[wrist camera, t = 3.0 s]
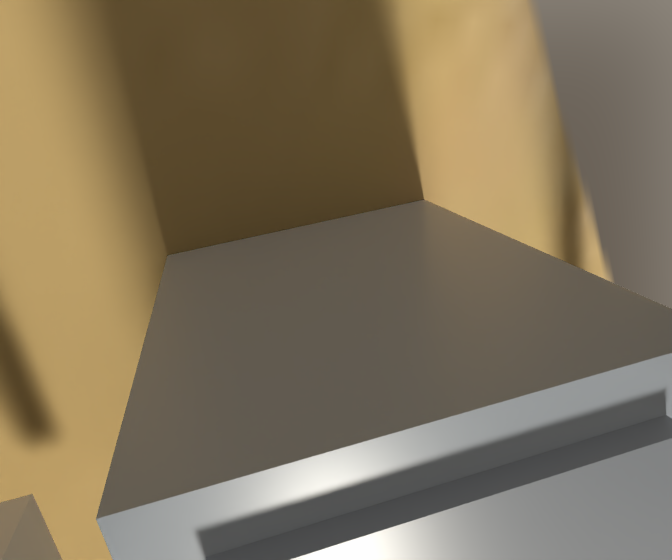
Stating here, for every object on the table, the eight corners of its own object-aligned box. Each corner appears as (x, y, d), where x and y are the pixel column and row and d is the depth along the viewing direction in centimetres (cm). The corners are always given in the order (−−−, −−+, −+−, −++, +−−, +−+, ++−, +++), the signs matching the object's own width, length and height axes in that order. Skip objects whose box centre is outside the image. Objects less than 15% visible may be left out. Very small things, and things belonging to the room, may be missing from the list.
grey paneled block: (167, 254, 12) (88, 549, 4) (423, 199, 13) (761, 348, 5) (255, 558, 15) (306, 1053, 7) (454, 495, 16) (691, 872, 8)
